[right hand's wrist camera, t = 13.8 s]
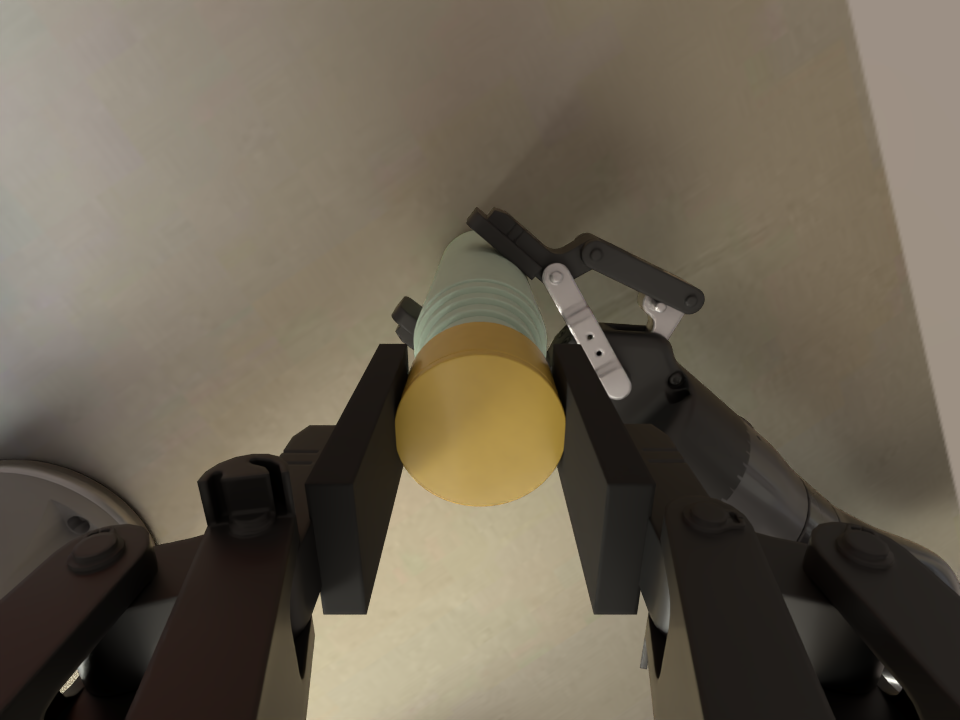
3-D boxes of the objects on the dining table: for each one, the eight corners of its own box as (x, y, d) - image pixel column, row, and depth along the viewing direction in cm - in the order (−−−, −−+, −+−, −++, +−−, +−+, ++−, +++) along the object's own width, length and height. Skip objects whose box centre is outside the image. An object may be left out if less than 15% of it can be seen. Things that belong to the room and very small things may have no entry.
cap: (512, 473, 16) (518, 529, 13) (385, 421, 15) (368, 470, 13) (580, 358, 14) (599, 398, 12) (443, 296, 14) (435, 324, 11)
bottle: (423, 258, 30) (345, 398, 12) (492, 213, 29) (512, 295, 12) (468, 324, 31) (453, 531, 14) (535, 282, 30) (609, 449, 13)
